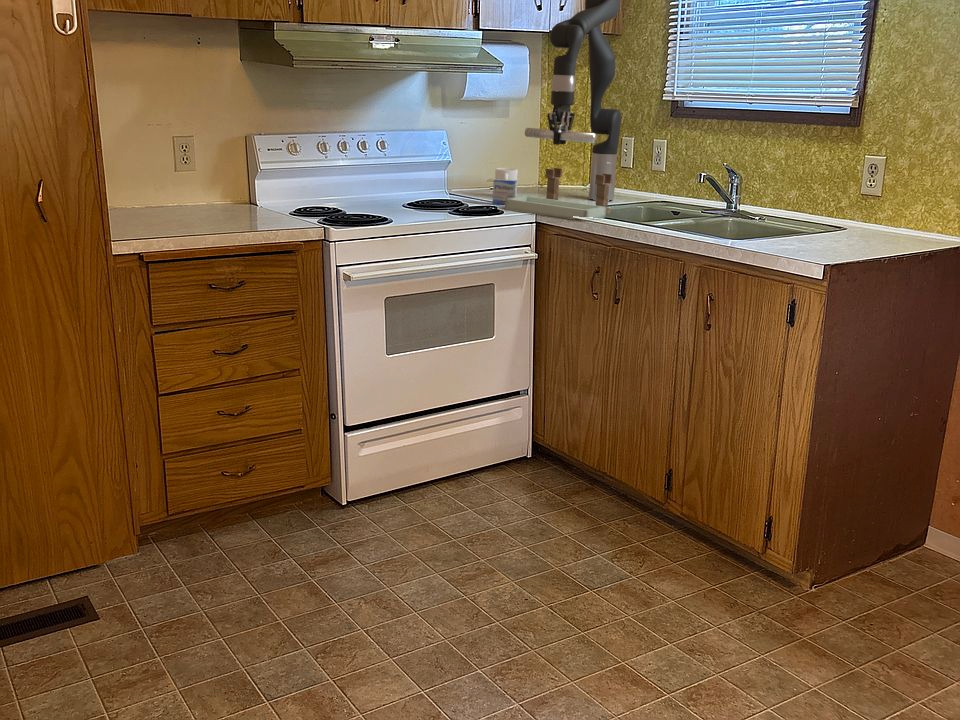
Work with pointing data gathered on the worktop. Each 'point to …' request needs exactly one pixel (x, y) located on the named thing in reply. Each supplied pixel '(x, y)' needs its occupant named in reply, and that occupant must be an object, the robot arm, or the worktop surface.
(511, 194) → the medicine box
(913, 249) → the worktop surface
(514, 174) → the mug
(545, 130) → the rail
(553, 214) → the tray
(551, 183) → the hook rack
